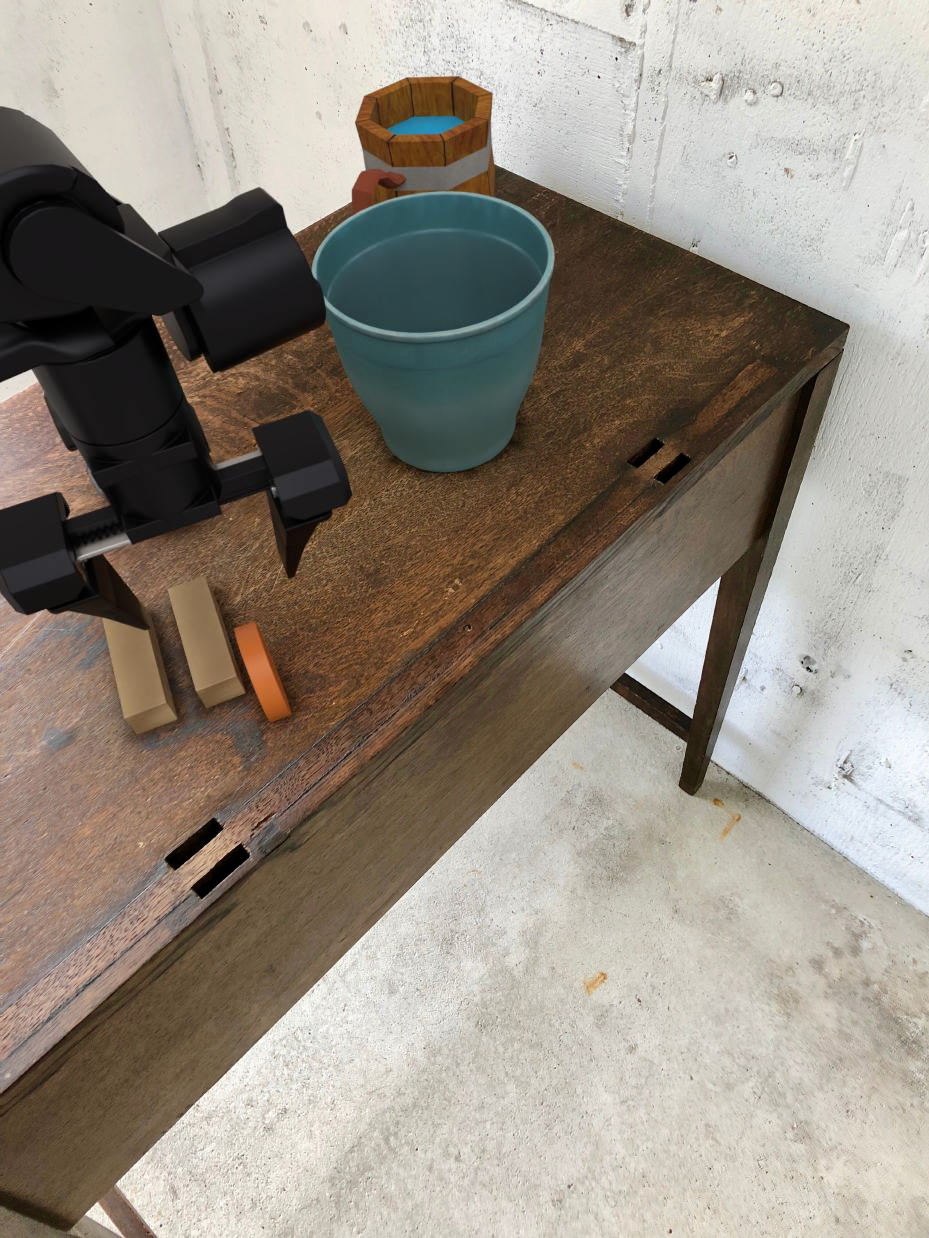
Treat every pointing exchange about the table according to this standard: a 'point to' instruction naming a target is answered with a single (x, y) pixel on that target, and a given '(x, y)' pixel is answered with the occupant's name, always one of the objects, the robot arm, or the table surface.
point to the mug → (424, 140)
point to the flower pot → (439, 319)
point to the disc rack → (143, 664)
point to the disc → (262, 671)
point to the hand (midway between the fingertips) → (219, 598)
